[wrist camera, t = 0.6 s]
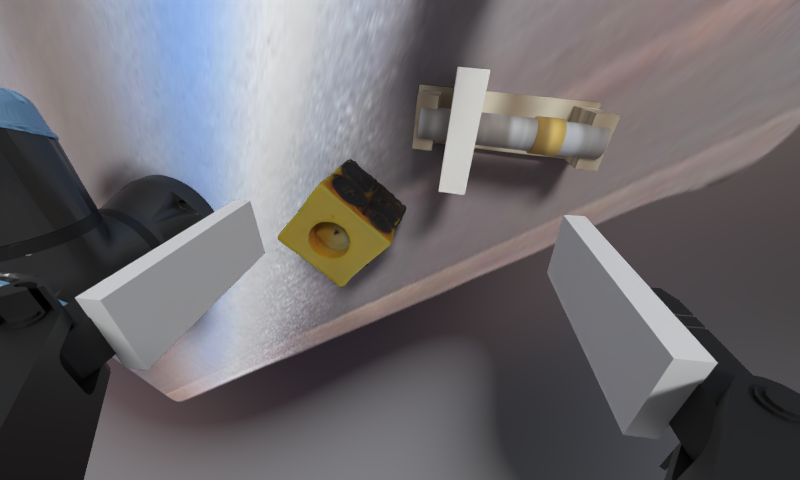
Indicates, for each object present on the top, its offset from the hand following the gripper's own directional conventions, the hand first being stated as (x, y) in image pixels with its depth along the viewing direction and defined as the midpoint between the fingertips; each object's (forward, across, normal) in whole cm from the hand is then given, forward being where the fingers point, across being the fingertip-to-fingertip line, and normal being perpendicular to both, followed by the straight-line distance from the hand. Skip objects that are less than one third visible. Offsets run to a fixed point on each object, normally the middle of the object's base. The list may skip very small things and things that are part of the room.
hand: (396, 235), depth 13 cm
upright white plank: (+26, +3, +1) cm, 26 cm away
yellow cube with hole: (+27, -10, -11) cm, 30 cm away
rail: (+26, +8, +1) cm, 27 cm away
